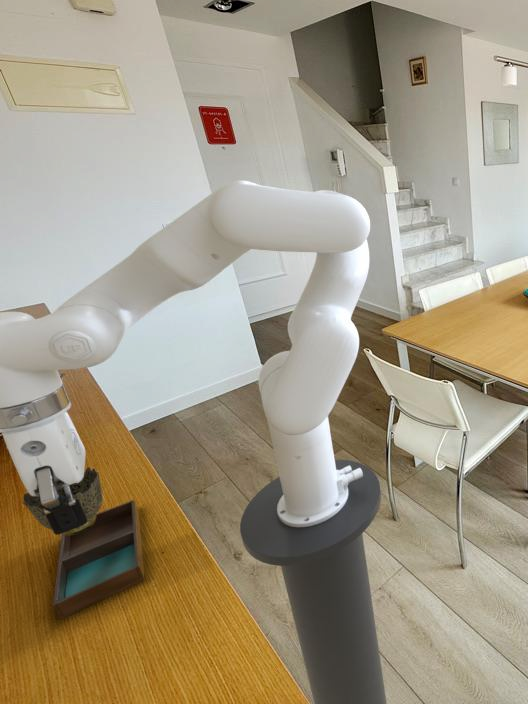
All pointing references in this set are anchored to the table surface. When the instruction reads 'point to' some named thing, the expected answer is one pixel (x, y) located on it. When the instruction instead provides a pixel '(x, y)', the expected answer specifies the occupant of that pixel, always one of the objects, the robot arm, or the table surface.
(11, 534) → the table surface
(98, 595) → the tray
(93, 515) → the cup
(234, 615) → the table surface
